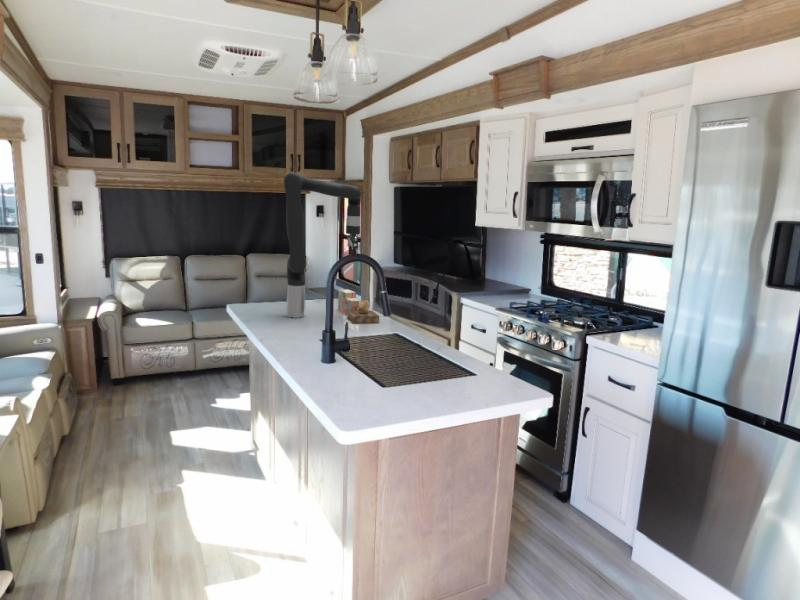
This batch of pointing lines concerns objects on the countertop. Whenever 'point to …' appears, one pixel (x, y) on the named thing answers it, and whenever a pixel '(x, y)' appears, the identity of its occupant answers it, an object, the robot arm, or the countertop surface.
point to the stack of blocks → (347, 301)
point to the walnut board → (363, 317)
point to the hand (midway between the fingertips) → (352, 255)
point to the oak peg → (363, 307)
